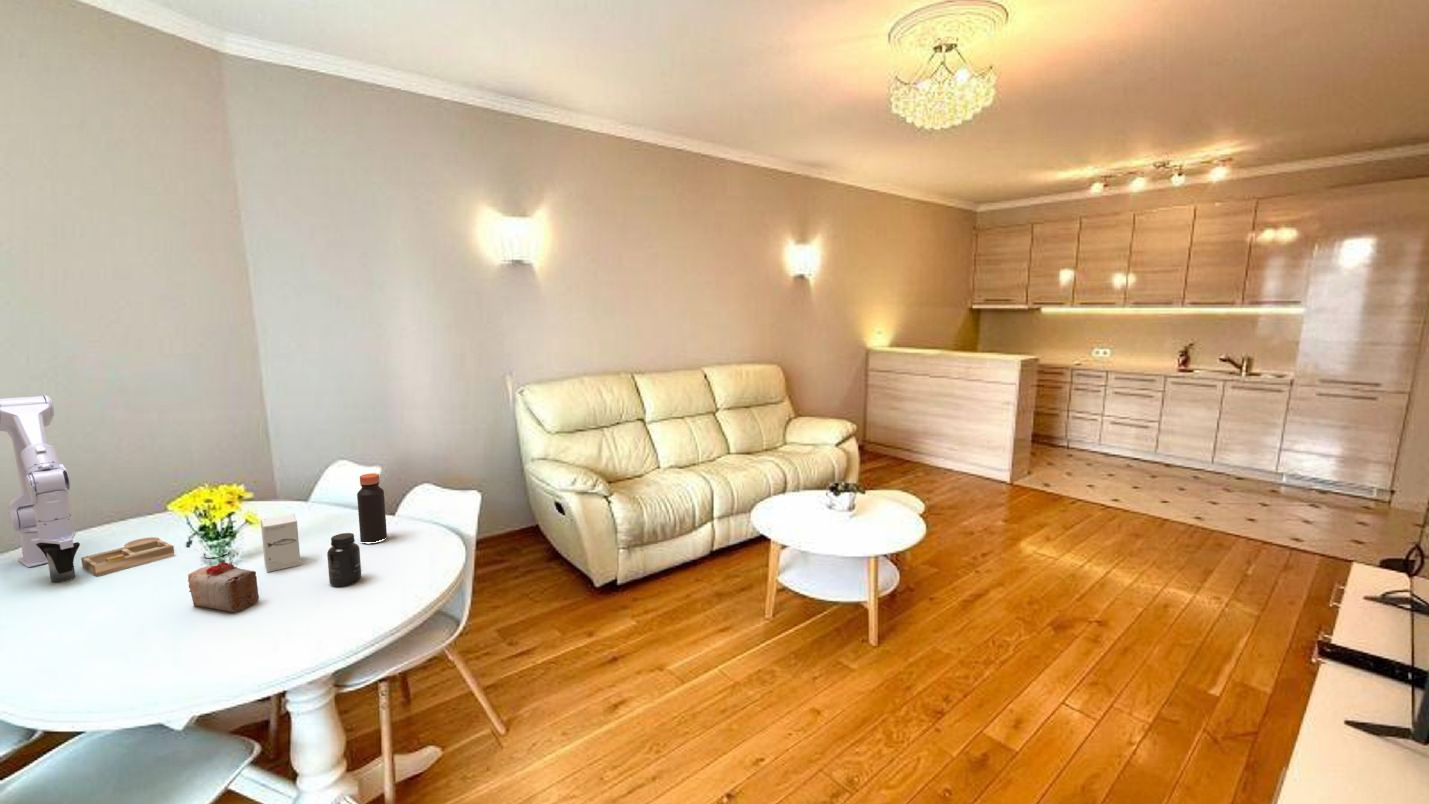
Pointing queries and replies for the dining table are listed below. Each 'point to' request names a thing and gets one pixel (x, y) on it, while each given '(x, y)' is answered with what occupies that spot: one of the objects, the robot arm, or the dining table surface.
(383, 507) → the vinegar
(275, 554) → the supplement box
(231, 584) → the food item
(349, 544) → the supplement bottle
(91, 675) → the dining table surface
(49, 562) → the cell
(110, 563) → the board
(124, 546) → the dish
